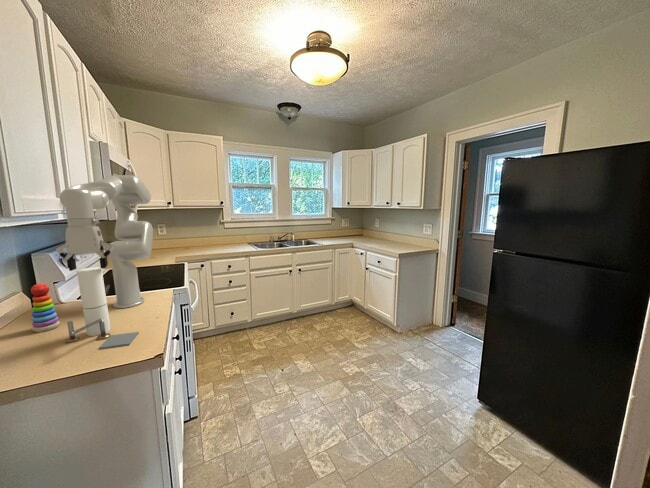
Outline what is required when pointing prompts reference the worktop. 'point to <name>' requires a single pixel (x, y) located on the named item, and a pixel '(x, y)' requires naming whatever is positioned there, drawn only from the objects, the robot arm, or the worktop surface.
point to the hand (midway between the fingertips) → (88, 268)
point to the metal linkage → (72, 332)
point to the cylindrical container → (93, 299)
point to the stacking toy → (43, 309)
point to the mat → (119, 340)
